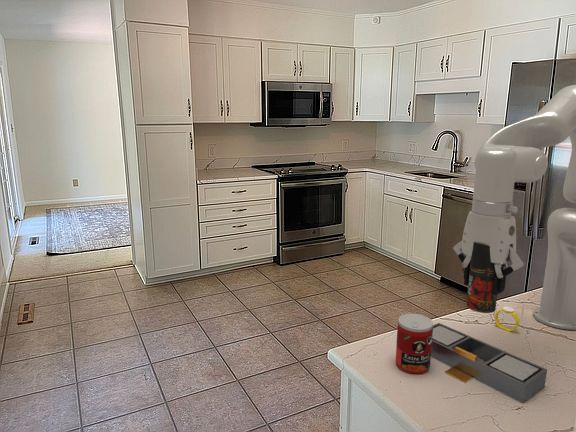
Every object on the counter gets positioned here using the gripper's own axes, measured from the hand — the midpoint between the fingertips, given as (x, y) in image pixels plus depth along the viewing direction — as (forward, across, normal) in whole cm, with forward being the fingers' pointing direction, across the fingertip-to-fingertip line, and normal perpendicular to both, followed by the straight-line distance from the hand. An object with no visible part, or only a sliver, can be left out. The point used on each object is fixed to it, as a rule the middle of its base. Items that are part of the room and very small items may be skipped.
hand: (483, 287), depth 97 cm
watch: (+19, +5, -23) cm, 30 cm away
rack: (+19, 0, +2) cm, 19 cm away
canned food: (+19, +9, +11) cm, 24 cm away
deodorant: (+5, 0, 0) cm, 5 cm away
